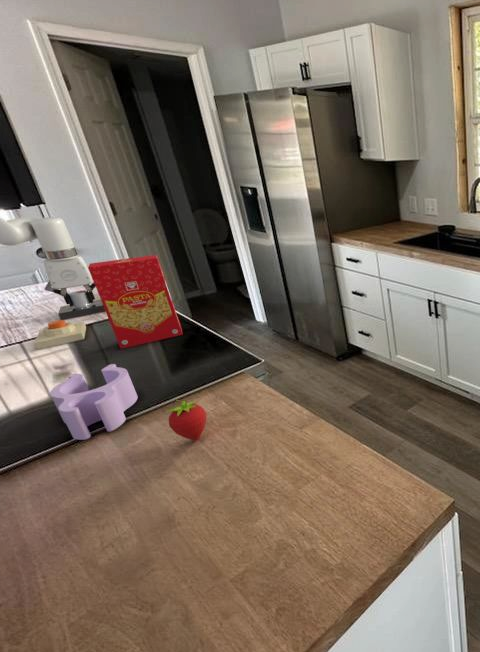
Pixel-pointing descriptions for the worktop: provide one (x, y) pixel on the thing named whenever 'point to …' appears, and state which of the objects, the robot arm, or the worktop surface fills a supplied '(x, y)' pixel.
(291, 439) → the worktop surface
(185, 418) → the strawberry
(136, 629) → the worktop surface
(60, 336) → the cream flat block
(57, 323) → the kettle button
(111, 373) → the clip
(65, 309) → the hob panel
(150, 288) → the food packaging
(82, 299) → the hob dial
